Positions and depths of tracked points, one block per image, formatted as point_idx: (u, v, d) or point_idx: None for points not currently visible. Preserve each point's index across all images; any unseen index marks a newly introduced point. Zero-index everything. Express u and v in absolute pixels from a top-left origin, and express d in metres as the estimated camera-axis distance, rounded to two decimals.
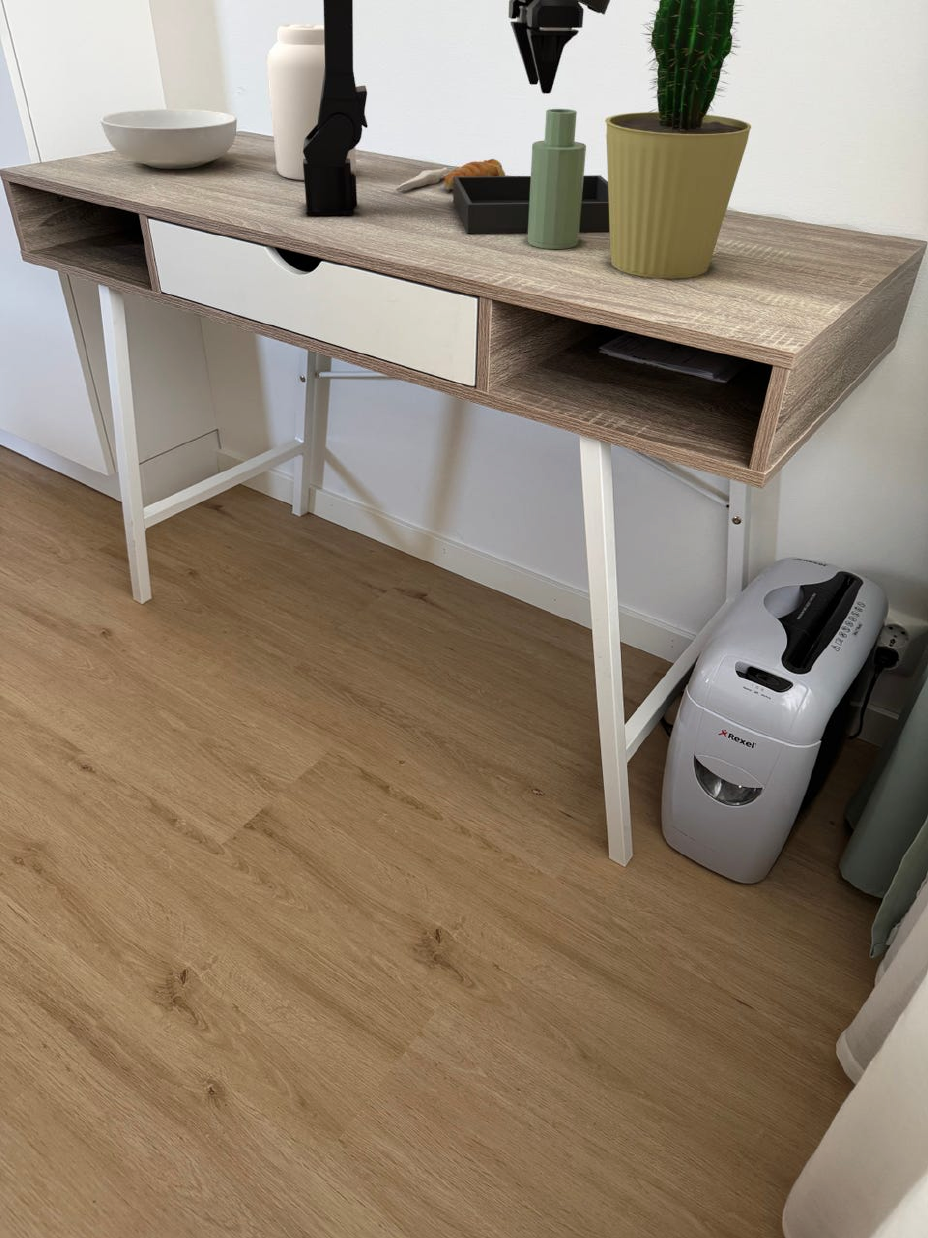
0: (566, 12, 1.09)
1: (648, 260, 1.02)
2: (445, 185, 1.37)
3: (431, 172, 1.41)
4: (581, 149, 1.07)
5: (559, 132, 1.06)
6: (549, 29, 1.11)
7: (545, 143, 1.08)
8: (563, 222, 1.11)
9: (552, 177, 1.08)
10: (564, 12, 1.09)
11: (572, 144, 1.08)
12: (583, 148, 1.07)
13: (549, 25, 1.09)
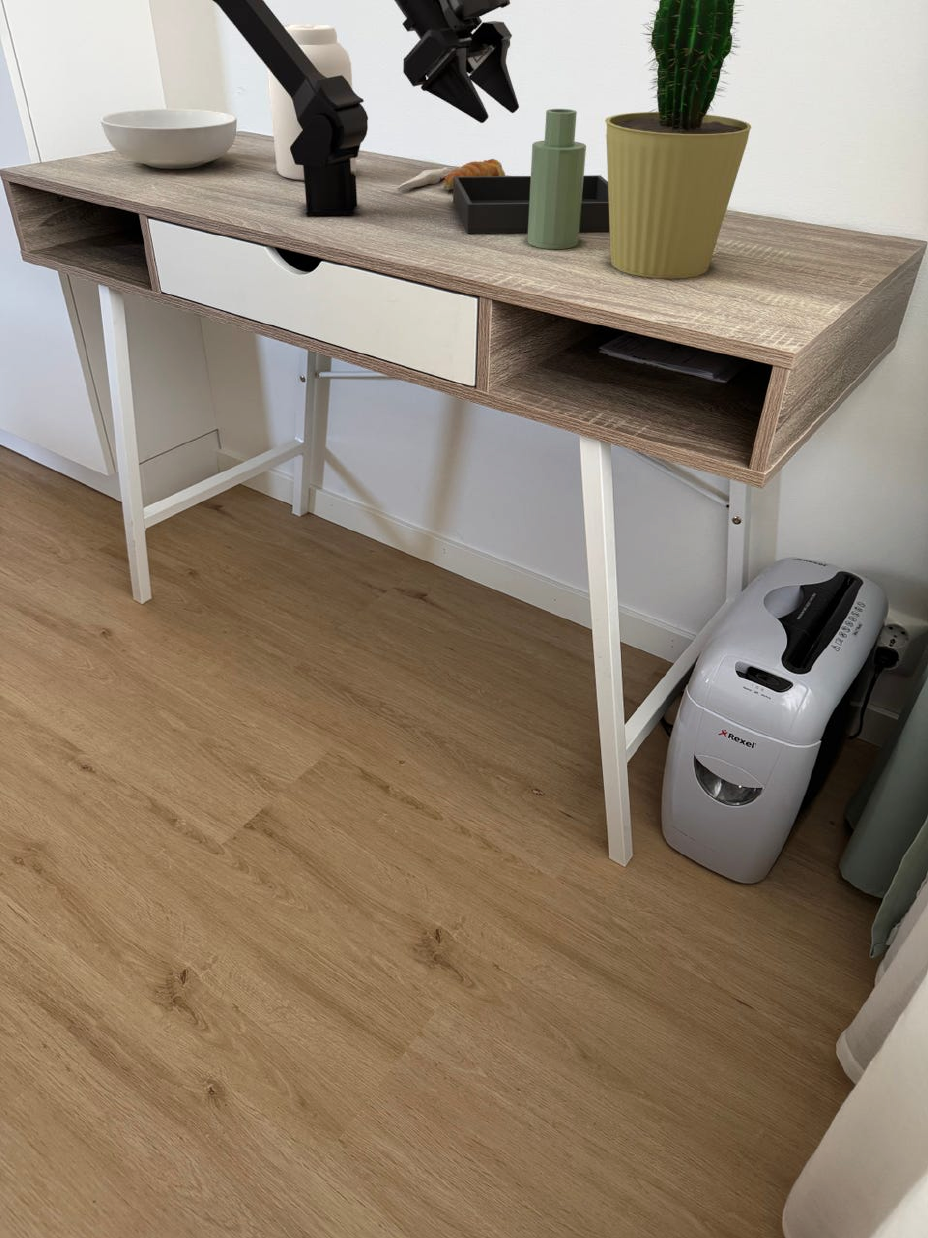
0: (425, 48, 1.01)
1: (648, 260, 1.02)
2: (445, 185, 1.37)
3: (431, 172, 1.41)
4: (581, 149, 1.07)
5: (559, 132, 1.06)
6: (431, 72, 1.04)
7: (545, 143, 1.08)
8: (563, 222, 1.11)
9: (552, 177, 1.08)
10: (424, 50, 1.02)
11: (572, 144, 1.08)
12: (583, 148, 1.07)
13: (421, 72, 1.03)
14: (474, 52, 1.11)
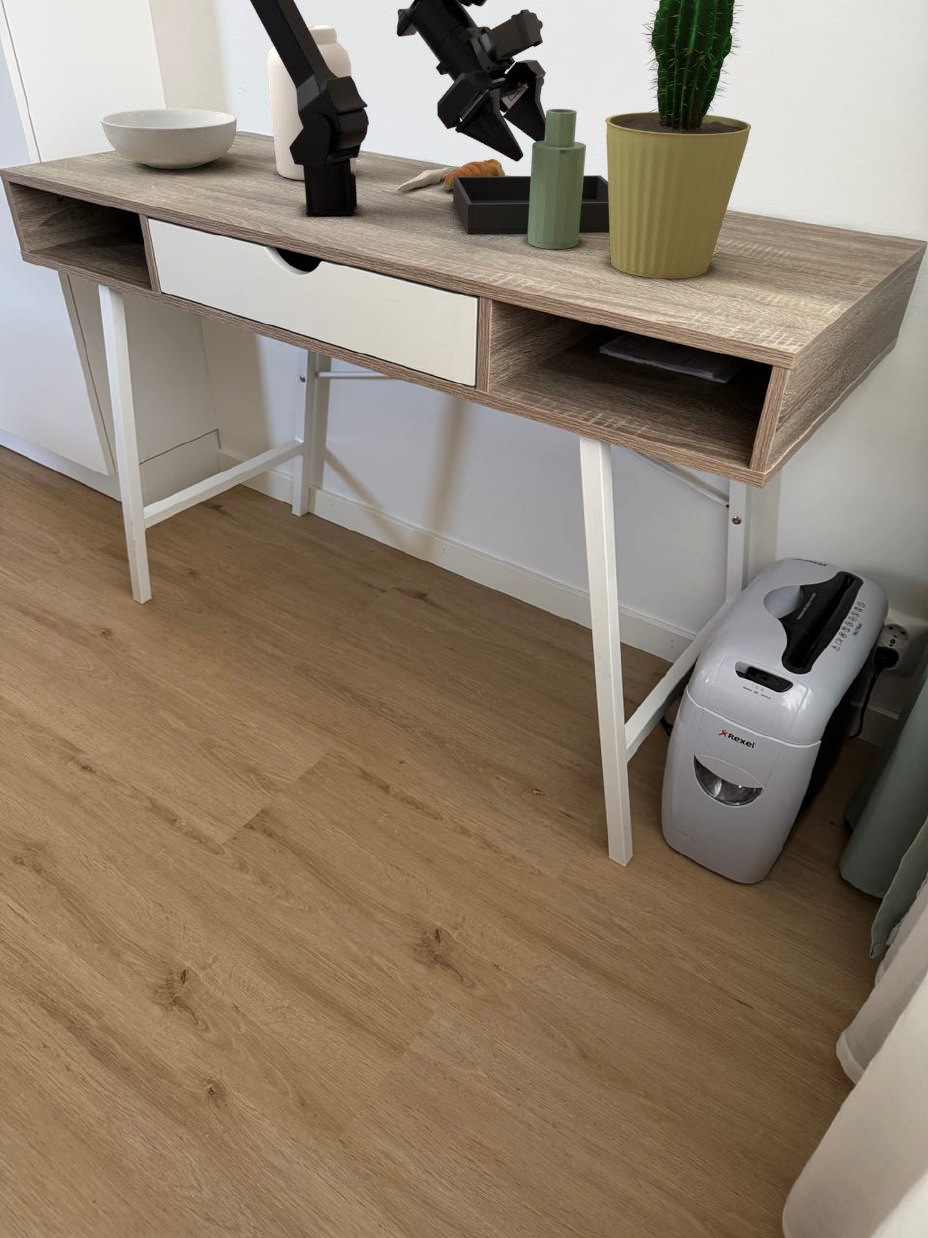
0: (459, 91, 1.02)
1: (648, 260, 1.02)
2: (445, 185, 1.37)
3: (432, 172, 1.41)
4: (581, 149, 1.07)
5: (559, 132, 1.06)
6: (465, 114, 1.04)
7: (545, 143, 1.08)
8: (563, 222, 1.11)
9: (552, 177, 1.08)
10: (457, 93, 1.02)
11: (572, 144, 1.08)
12: (583, 148, 1.07)
13: (455, 114, 1.03)
14: (508, 91, 1.11)
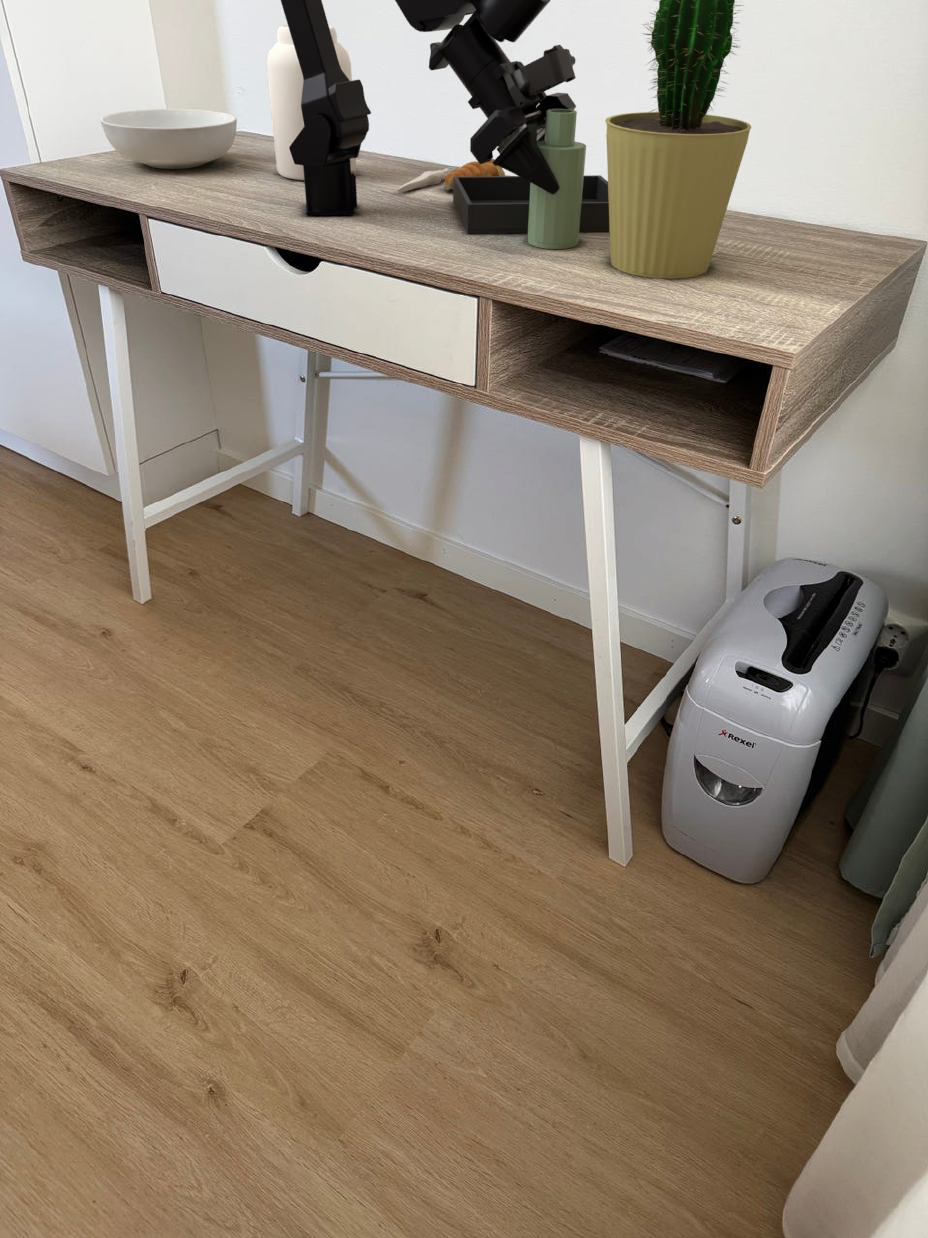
0: (492, 128, 1.02)
1: (648, 260, 1.02)
2: (445, 185, 1.37)
3: (432, 173, 1.41)
4: (581, 149, 1.07)
5: (559, 132, 1.06)
6: (503, 148, 1.05)
7: (545, 143, 1.08)
8: (563, 222, 1.11)
9: None
10: (491, 129, 1.02)
11: (572, 144, 1.08)
12: (583, 148, 1.07)
13: (488, 150, 1.03)
14: (539, 125, 1.11)
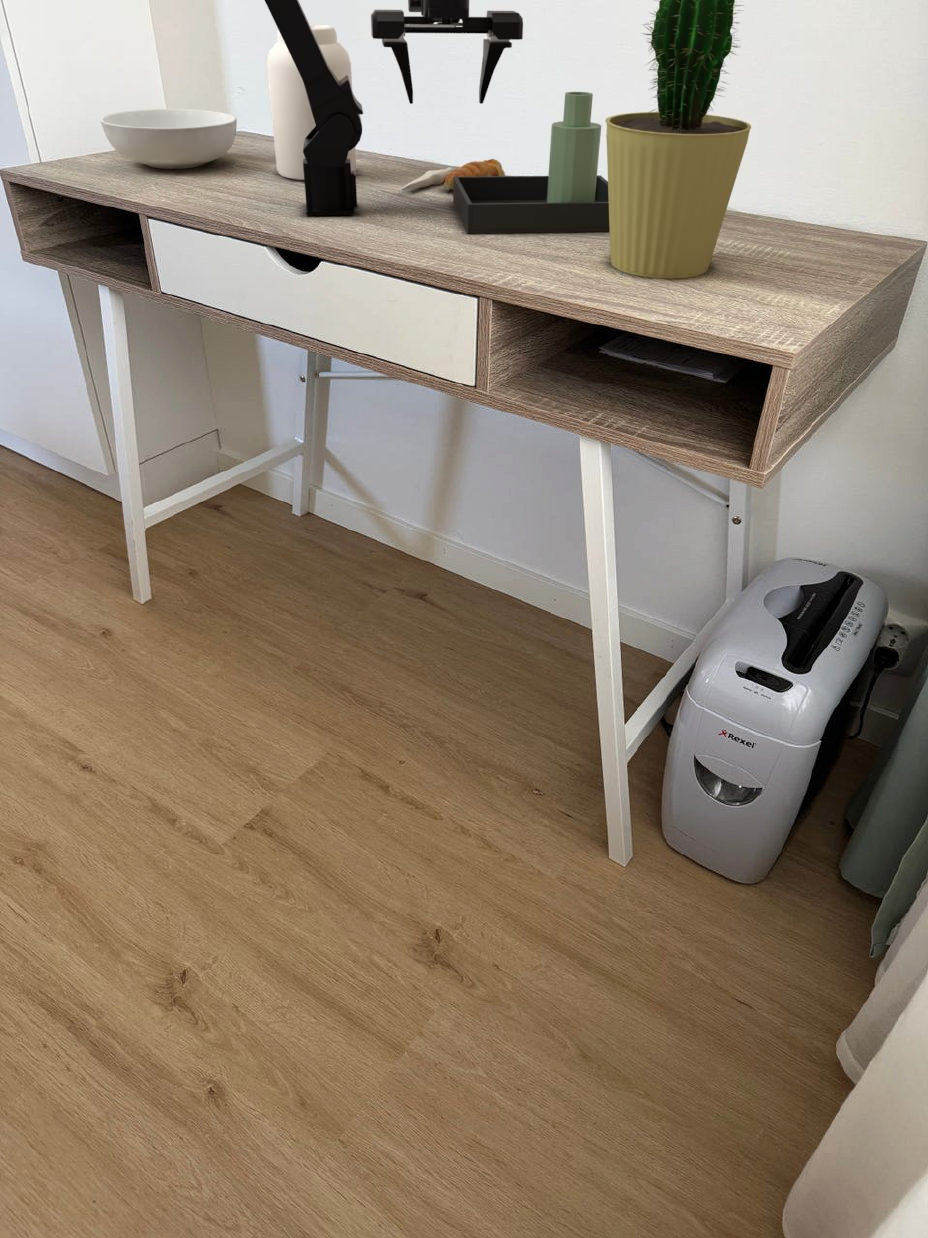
0: None
1: (648, 260, 1.02)
2: (445, 185, 1.37)
3: (436, 172, 1.41)
4: (600, 127, 1.17)
5: (582, 113, 1.15)
6: (509, 40, 1.17)
7: (566, 124, 1.17)
8: (587, 196, 1.20)
9: (579, 155, 1.17)
10: None
11: (590, 123, 1.17)
12: None
13: None
14: None
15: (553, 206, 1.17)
